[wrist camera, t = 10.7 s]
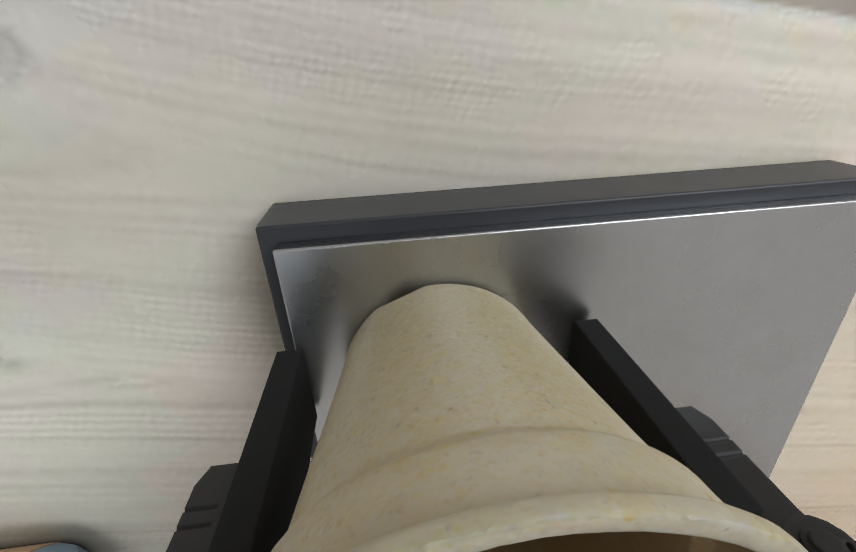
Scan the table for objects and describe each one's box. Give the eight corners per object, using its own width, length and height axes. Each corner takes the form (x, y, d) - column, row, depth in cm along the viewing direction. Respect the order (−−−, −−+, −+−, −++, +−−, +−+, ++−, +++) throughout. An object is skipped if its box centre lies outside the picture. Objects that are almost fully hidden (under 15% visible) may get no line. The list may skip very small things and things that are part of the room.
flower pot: (258, 245, 11) (14, 616, 4) (594, 208, 12) (984, 461, 4) (323, 479, 16) (272, 878, 8) (569, 443, 16) (743, 781, 9)
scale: (272, 202, 14) (248, 235, 11) (829, 159, 15) (924, 179, 13) (351, 559, 23) (348, 625, 20) (698, 509, 24) (737, 563, 22)
